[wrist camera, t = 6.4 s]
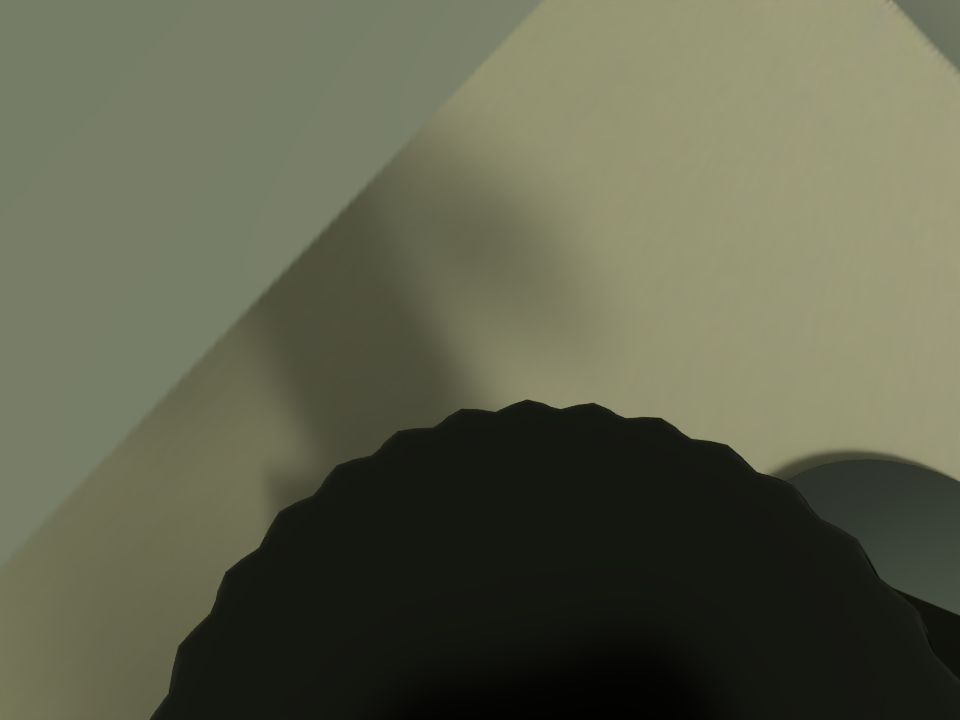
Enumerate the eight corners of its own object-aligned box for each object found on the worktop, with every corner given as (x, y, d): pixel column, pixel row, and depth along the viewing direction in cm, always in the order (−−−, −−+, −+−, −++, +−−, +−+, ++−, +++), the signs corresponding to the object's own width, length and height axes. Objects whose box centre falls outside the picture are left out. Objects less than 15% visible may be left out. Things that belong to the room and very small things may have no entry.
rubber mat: (1170, 614, 20) (1182, 613, 20) (1066, 1029, 16) (1080, 1038, 16) (813, 399, 24) (818, 395, 24) (646, 688, 20) (649, 688, 19)
